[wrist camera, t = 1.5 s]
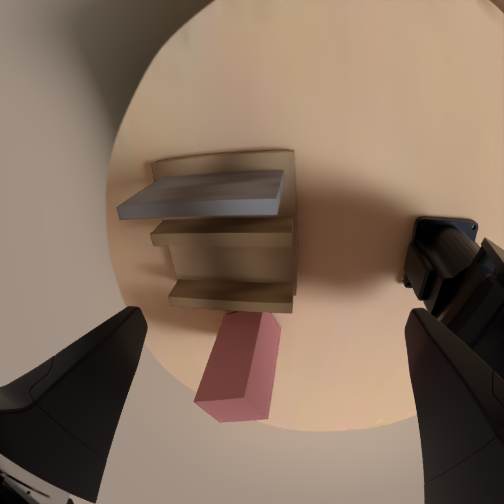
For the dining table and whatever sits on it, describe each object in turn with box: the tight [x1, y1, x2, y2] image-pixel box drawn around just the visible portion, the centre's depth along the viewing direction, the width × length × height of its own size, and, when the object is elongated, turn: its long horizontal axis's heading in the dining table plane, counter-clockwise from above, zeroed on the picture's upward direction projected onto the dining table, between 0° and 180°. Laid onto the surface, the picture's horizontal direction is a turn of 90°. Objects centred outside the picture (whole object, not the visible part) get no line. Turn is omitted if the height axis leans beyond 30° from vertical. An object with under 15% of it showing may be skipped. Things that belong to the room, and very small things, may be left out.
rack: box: [116, 150, 297, 313], centre depth 19 cm, size 10×12×7 cm
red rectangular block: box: [194, 311, 281, 422], centre depth 22 cm, size 4×4×10 cm
